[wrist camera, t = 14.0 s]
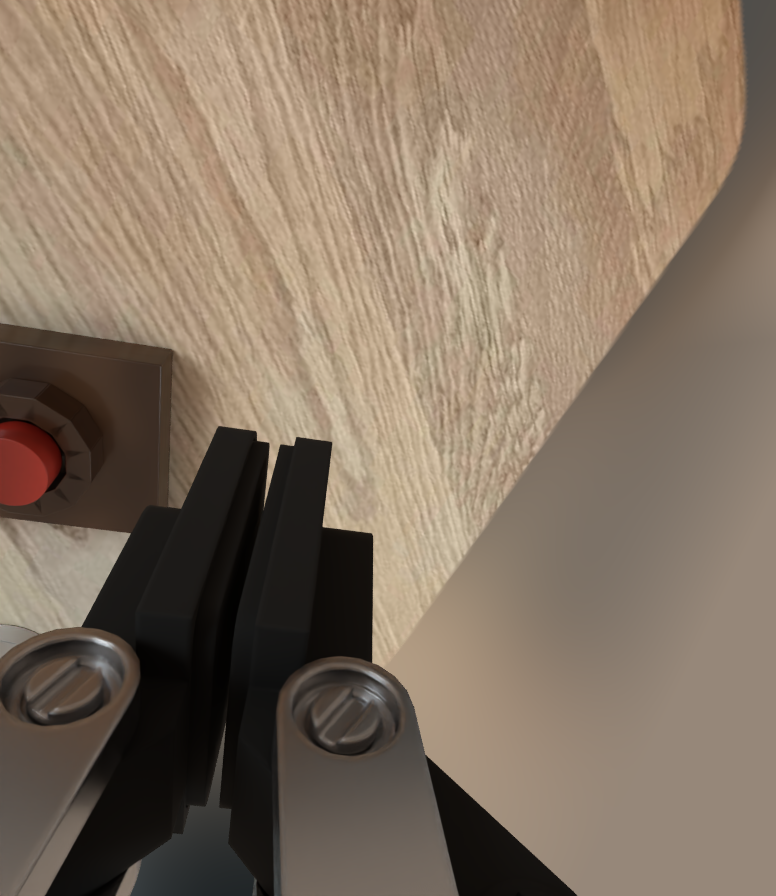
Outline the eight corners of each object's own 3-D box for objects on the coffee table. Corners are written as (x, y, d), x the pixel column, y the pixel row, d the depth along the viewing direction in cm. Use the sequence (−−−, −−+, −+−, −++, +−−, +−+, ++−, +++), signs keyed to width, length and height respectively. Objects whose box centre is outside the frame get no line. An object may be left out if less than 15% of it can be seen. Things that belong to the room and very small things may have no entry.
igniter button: (60, 426, 32) (45, 444, 31) (64, 491, 34) (49, 510, 33) (-21, 415, 32) (-40, 432, 31) (-13, 481, 34) (-31, 501, 32)
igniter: (173, 348, 35) (151, 380, 31) (167, 514, 39) (148, 557, 36) (-83, 310, 33) (-135, 338, 30) (-57, 485, 38) (-99, 528, 34)
